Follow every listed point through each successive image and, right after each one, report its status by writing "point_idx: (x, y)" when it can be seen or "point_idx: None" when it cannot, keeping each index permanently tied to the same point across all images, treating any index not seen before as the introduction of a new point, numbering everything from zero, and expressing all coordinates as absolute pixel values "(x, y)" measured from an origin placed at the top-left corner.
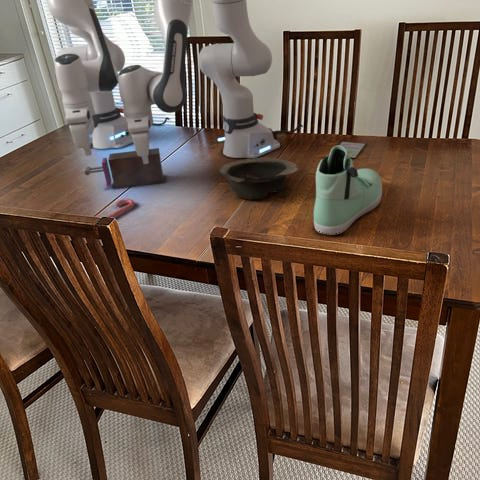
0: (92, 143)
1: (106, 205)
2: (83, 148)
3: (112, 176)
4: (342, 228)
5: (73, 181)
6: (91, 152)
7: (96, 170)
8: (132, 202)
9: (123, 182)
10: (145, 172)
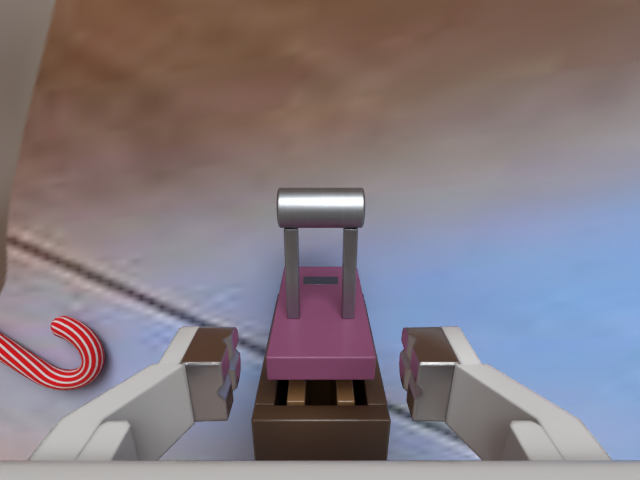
0: (444, 415)
1: (90, 267)
2: (104, 397)
3: (269, 335)
4: None
5: (480, 33)
6: (238, 381)
7: (290, 274)
8: (54, 388)
9: None
10: None
